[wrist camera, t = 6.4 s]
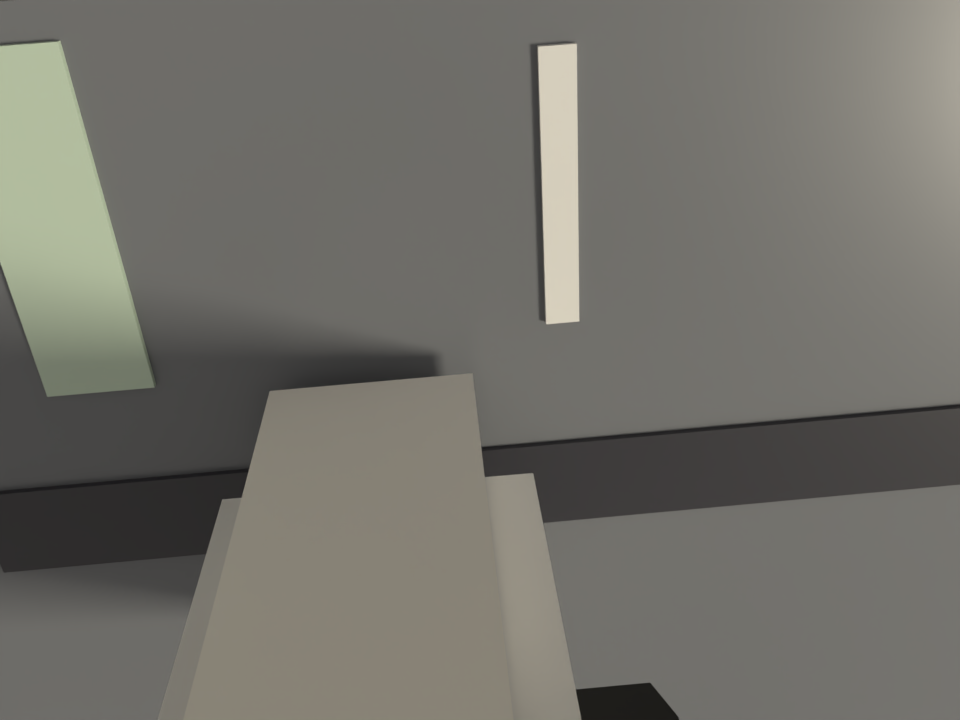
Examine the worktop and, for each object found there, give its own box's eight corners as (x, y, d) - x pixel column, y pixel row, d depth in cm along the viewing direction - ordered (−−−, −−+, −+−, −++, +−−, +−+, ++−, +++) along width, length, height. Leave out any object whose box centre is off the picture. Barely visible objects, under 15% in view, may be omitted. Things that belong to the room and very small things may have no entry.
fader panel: (1124, 669, 21) (1175, 728, 19) (-24, 782, 20) (-56, 851, 19) (1449, -120, 13) (1576, -117, 11) (-425, 20, 12) (-533, 42, 11)
